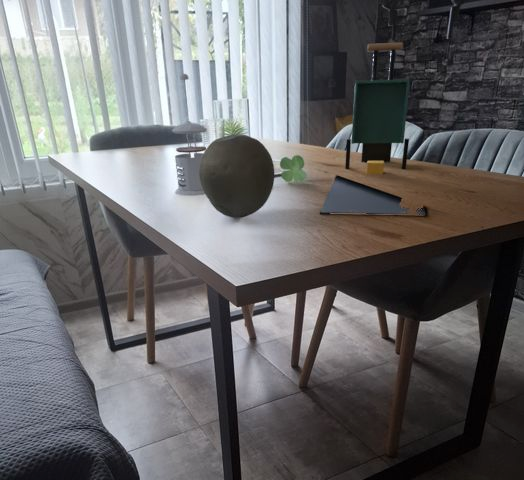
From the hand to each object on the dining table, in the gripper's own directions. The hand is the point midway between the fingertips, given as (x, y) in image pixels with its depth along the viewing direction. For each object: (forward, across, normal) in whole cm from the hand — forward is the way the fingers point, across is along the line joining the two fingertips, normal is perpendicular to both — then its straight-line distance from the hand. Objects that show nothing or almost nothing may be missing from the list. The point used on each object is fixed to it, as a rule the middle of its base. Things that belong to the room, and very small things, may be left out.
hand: (420, 40), depth 123 cm
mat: (+31, +9, +35) cm, 47 cm away
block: (+28, +9, +21) cm, 36 cm away
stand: (+31, +9, +7) cm, 33 cm away
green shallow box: (+12, +9, +11) cm, 18 cm away
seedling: (+31, +29, +20) cm, 47 cm away
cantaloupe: (+31, +34, +59) cm, 75 cm away
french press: (+31, +52, +34) cm, 69 cm away
